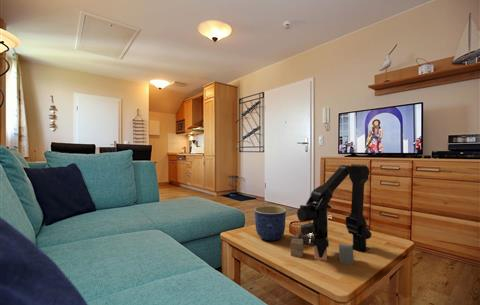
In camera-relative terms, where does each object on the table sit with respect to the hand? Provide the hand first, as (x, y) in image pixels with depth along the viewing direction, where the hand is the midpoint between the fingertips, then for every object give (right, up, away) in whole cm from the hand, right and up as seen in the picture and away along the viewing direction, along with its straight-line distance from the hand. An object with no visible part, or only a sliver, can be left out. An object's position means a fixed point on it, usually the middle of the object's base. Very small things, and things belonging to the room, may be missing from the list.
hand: (320, 254), depth 100 cm
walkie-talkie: (-2, -2, +19) cm, 19 cm away
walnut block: (-9, -1, +3) cm, 10 cm away
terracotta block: (0, -1, 0) cm, 1 cm away
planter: (-19, -2, +23) cm, 30 cm away
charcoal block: (+9, -1, -3) cm, 10 cm away
